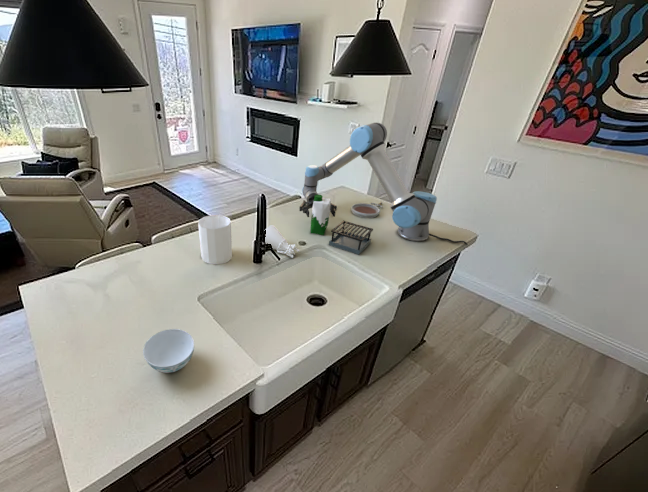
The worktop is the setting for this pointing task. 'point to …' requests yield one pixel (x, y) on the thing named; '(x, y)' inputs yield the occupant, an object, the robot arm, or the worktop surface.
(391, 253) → the worktop surface
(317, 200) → the soya milk
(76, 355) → the worktop surface
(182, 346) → the chinaware
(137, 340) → the worktop surface
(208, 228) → the container
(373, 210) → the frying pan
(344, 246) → the dish rack
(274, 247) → the rocket engine
